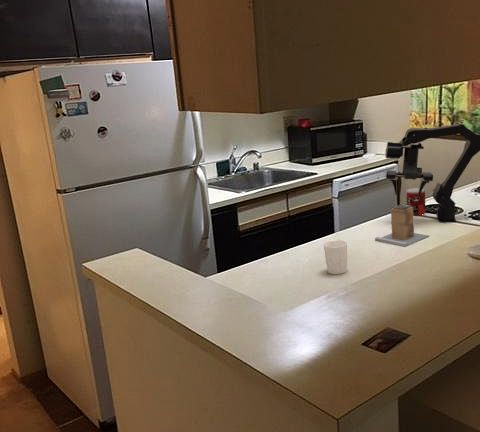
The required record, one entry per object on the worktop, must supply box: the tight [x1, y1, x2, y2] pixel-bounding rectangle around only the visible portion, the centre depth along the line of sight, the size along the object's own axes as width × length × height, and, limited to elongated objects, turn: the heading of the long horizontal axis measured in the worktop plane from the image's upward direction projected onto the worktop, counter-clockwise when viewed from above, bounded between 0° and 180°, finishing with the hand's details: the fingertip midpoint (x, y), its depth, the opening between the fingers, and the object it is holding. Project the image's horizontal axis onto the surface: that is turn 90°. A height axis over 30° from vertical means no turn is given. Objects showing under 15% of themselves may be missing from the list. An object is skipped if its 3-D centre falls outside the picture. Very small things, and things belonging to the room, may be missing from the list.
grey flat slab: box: [374, 232, 430, 248], centre depth 218 cm, size 16×14×1 cm
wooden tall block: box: [390, 204, 415, 241], centre depth 217 cm, size 6×6×13 cm
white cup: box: [323, 239, 348, 275], centre depth 191 cm, size 8×8×10 cm
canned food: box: [406, 187, 426, 217], centre depth 249 cm, size 8×8×11 cm
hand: (407, 195), depth 235 cm, fingers open, 9 cm apart
